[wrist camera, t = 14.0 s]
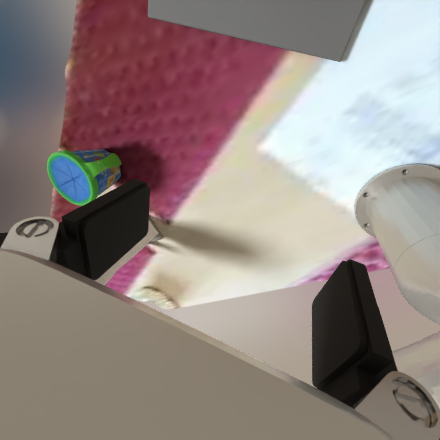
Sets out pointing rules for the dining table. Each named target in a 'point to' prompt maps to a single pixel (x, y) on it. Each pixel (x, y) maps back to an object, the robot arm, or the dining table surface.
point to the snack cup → (83, 173)
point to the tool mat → (269, 21)
